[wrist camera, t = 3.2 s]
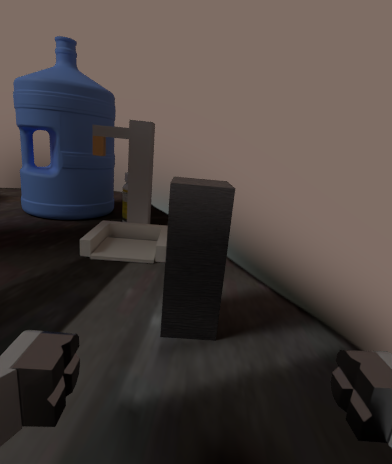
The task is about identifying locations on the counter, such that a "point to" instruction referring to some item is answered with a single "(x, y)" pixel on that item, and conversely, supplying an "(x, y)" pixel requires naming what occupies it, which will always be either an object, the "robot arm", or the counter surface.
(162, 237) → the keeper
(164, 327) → the link block
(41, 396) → the robot arm
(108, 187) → the water jug
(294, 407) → the counter surface
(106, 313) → the counter surface
